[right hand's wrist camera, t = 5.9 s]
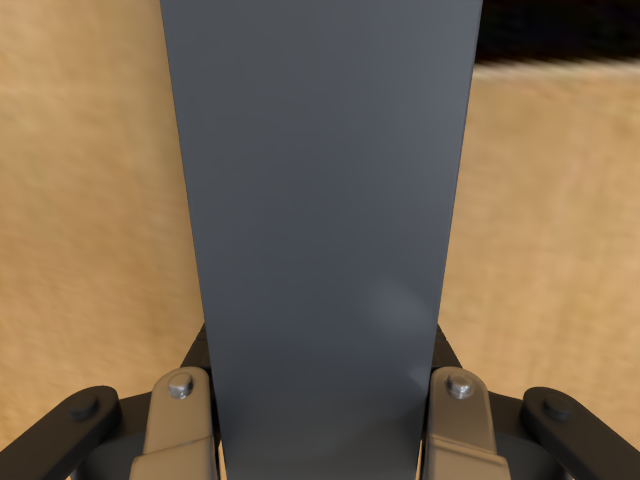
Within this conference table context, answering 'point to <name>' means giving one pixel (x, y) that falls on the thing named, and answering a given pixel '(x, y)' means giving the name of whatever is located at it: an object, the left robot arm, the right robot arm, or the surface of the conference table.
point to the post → (321, 218)
